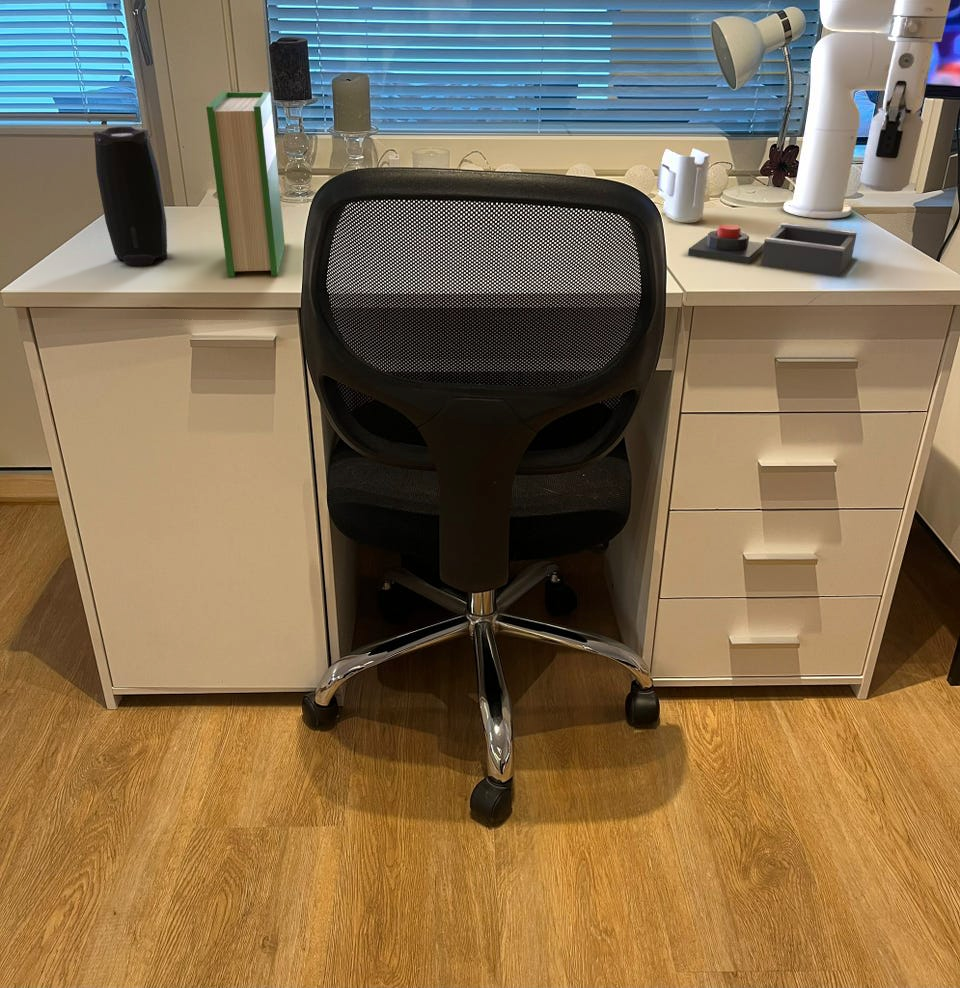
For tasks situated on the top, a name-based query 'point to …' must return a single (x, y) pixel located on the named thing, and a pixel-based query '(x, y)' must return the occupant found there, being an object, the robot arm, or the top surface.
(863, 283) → the top surface
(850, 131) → the robot arm
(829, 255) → the grey open tray
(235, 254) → the hardback book
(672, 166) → the cable organizer
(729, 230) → the release button
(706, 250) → the control block
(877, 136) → the can
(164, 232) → the portable speaker
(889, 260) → the top surface
